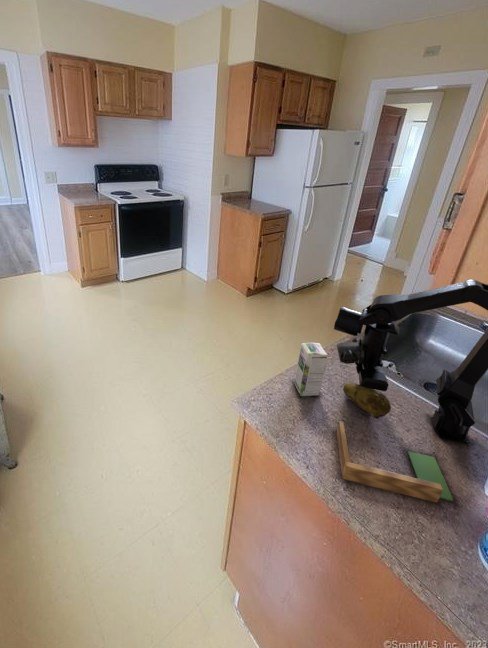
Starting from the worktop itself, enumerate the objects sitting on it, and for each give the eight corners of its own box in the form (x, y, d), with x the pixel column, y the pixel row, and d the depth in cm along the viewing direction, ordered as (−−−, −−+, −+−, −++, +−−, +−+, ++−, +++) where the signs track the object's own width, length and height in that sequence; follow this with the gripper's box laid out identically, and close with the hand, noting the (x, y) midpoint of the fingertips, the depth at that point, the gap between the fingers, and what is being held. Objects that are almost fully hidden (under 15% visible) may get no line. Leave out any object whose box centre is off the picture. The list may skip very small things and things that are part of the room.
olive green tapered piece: (366, 390, 95) (372, 369, 92) (391, 427, 83) (399, 404, 80) (338, 391, 94) (343, 369, 91) (360, 428, 82) (366, 404, 79)
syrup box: (293, 382, 97) (300, 342, 92) (312, 382, 98) (319, 342, 92) (300, 396, 92) (307, 355, 87) (320, 395, 93) (328, 354, 87)
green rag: (434, 458, 75) (434, 457, 75) (453, 501, 66) (453, 500, 66) (407, 452, 76) (408, 451, 76) (422, 493, 67) (423, 492, 67)
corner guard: (416, 451, 77) (421, 439, 75) (437, 502, 66) (443, 489, 64) (336, 433, 81) (339, 421, 79) (342, 479, 70) (346, 466, 68)
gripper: (338, 318, 96) (329, 360, 102) (346, 356, 80) (334, 403, 86) (379, 324, 94) (367, 367, 100) (396, 365, 77) (380, 413, 83)
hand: (361, 385), depth 92 cm, fingers closed
